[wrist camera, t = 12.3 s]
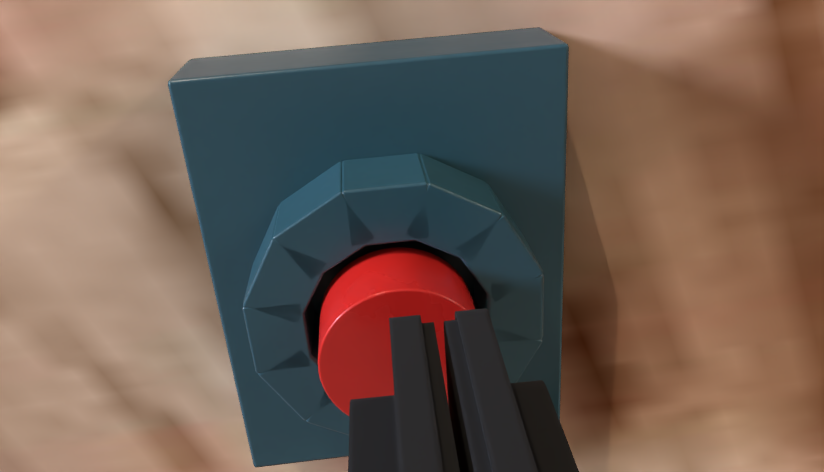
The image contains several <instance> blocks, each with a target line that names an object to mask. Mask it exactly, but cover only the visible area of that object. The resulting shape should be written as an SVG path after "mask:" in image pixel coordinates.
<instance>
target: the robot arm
mask: <svg viewBox="0 0 824 472" xmlns="http://www.w3.org/2000/svg"><path fill="white" fill-rule="evenodd" d="M389 325H390V339H391V354H392V368H393V382H394V395H390V396H380V397H370V398H360V399H351V400H350V409H349V462H348V472H579V471H578V468H577V466H576V463H575V460H574V458H573V455H572V452H571V450H570V447H569V444H568V442H567V439H566V437H565V434H564V431H563V429H562V426H561V423H560V421H559V418H558V416H557V413H556V410H555V408H554V405H553V402H552V400H551V397H550V394H549V392H548V389H547V387H546V385H545V383H544V382H543V381H542V380H538V381H528V382H518V383H510V380H509V377H508V373H507V370H506V367H505V364H504V361H503V357H502V354H501V351H500V348H499V344H498V341H497V338H496V335H495V331H494V328H493V325H492V322H491V318H490V315H489V312H488V310H487V309H486V308H484V309H474V310H464V311H455V320H449V321H444V342H445V358H446V374H447V390H448V400H447V395H446V389H445V383H444V377H443V372H442V366H441V360H440V354H439V349H438V343H437V337H436V332H435V326H434V322H428V323H422V322H421V315H413V316H403V317H393V318H389Z"/></svg>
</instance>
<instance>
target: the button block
mask: <svg viewBox="0 0 824 472" xmlns="http://www.w3.org/2000/svg"><path fill="white" fill-rule="evenodd" d="M568 56H569V47H568V44H566V43H565V42H563V41H562V40H560V39H558V38H557V37H555V36H553V35H552V34H550V33H548V32H547V31H545V30H543V29H542V28H539V27H538V28H527V29H516V30H505V31H494V32H483V33H472V34H461V35H450V36H439V37H428V38H417V39H406V40H395V41H384V42H373V43H362V44H351V45H340V46H329V47H318V48H307V49H296V50H285V51H274V52H263V53H252V54H241V55H230V56H219V57H208V58H197V59H191V60H189V61H188V62H187V63H186V64H185V65H184V66H183V67H182V68H181V69H180V70H179V71H178V72H177V73H176V74H175V75H174V76H173V77H172V78H171V79H170V80H169V81H168V87H169V91H170V96H171V100H172V104H173V109H174V113H175V118H176V122H177V127H178V131H179V136H180V140H181V144H182V149H183V153H184V158H185V162H186V167H187V171H188V175H189V180H190V184H191V189H192V193H193V198H194V202H195V206H196V211H197V215H198V220H199V224H200V229H201V233H202V238H203V242H204V246H205V251H206V255H207V260H208V264H209V269H210V273H211V277H212V282H213V286H214V291H215V295H216V300H217V304H218V308H219V313H220V317H221V322H222V326H223V331H224V335H225V340H226V344H227V348H228V353H229V357H230V362H231V366H232V371H233V375H234V379H235V384H236V388H237V393H238V397H239V402H240V406H241V410H242V415H243V419H244V424H245V428H246V433H247V437H248V442H249V446H250V450H251V455H252V459H253V464H254V466H255V467H263V466H271V465H280V464H288V463H296V462H304V461H313V460H321V459H329V458H337V457H346V456H349V416H348V415H346V414H345V413H344V412H342V411H341V410H340V409H339V408H338V407H337V406H336V405H335V404H334V403H333V402H332V401H331V399H330V398H329V397H328V395H327V393H326V392H325V390H324V388H323V386H322V383H321V381H320V377H319V372H318V346H319V327H320V311H321V304H322V300H323V297H324V294H325V292H326V290H327V288H328V286H329V284H330V283H331V281H332V280H333V279H334V277H335V276H336V275H337V274H338V273H339V272H340V271H341V270H342V269H343V268H344V267H345V266H347V265H348V264H349V263H351V262H352V261H354V260H355V259H357V258H359V257H361V256H363V255H365V254H368V253H370V252H373V251H377V250H380V249H386V248H396V247H404V248H414V249H419V250H423V251H426V252H429V253H432V254H434V255H436V256H438V257H440V258H442V259H443V260H445V261H446V262H448V263H449V264H450V265H451V266H452V267H454V268H455V269H456V270H457V272H458V273H459V274H460V275H461V276H462V278H463V280H464V281H465V283H466V285H467V287H468V289H469V292H470V295H471V298H472V301H473V304H474V307H475V309H484V308H486V309H487V310H488V312H489V315H490V318H491V322H492V325H493V328H494V331H495V335H496V338H497V341H498V344H499V348H500V351H501V354H502V357H503V361H504V364H505V367H506V370H507V373H508V377H509V380H510V383H518V382H528V381H538V380H542V381H543V382H544V383H545V385H546V387H547V389H548V392H549V394H550V397H551V400H552V402H553V405H554V408H555V410H556V413H557V416H558V418H559V421H560V387H561V346H562V305H563V263H564V222H565V180H566V139H567V98H568Z"/></svg>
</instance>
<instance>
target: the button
mask: <svg viewBox="0 0 824 472" xmlns="http://www.w3.org/2000/svg"><path fill="white" fill-rule="evenodd" d="M474 309H475V307H474V304H473V301H472V298H471V295H470V292H469V289H468V287H467V285H466V283H465V281H464V280H463V278H462V276H461V275H460V274H459V273H458V272H457V270H456V269H455V268H454V267H452V266H451V265H450V264H449V263H448V262H446V261H445V260H443V259H442V258H440V257H438V256H436V255H434V254H432V253H429V252H426V251H423V250H419V249H414V248H404V247H396V248H386V249H380V250H377V251H373V252H370V253H368V254H365V255H363V256H361V257H359V258H357V259H355V260H354V261H352V262H351V263H349V264H348V265H347V266H345V267H344V268H343V269H342V270H341V271H340V272H339V273H338V274H337V275H336V276H335V277H334V279H333V280H332V281H331V283H330V284H329V286H328V288H327V290H326V292H325V294H324V297H323V300H322V304H321V311H320V327H319V346H318V372H319V377H320V381H321V383H322V386H323V388H324V390H325V392H326V393H327V395H328V397H329V398H330V399H331V401H332V402H333V403H334V404H335V405H336V406H337V407H338V408H339V409H340V410H341V411H342V412H344V413H345V414H346V415H348V416H349V409H350V400H351V399H360V398H370V397H380V396H390V395H394V382H393V368H392V354H391V339H390V325H389V318H393V317H403V316H413V315H421V322H422V323H428V322H434V326H435V332H436V337H437V343H438V349H439V354H440V360H441V366H442V372H443V377H444V383H445V389H446V395H447V400H448V390H447V374H446V358H445V342H444V321H449V320H455V311H464V310H474Z"/></svg>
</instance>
